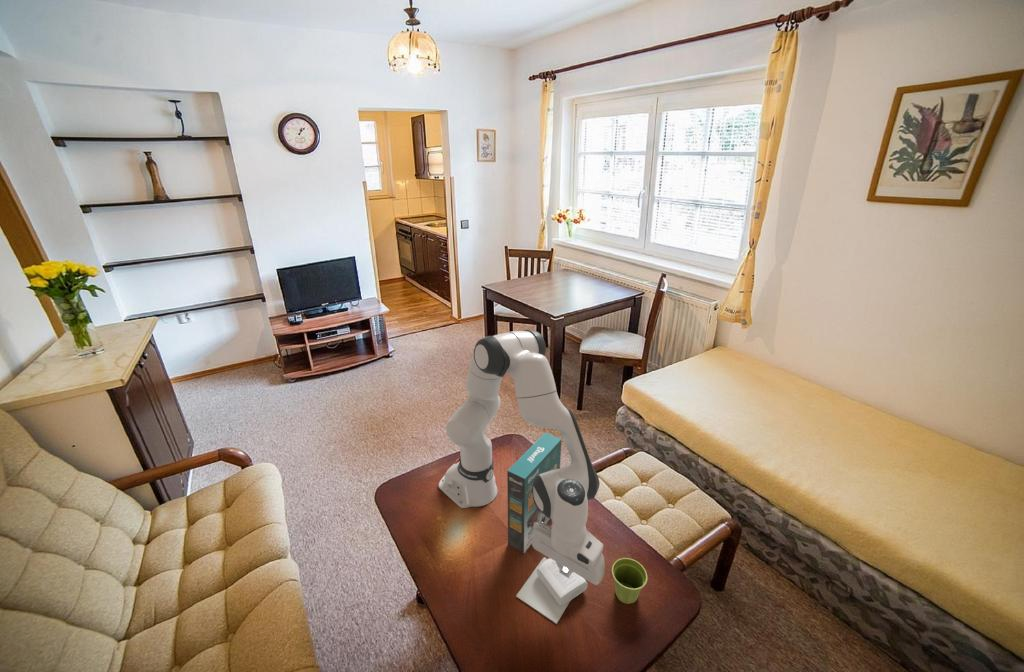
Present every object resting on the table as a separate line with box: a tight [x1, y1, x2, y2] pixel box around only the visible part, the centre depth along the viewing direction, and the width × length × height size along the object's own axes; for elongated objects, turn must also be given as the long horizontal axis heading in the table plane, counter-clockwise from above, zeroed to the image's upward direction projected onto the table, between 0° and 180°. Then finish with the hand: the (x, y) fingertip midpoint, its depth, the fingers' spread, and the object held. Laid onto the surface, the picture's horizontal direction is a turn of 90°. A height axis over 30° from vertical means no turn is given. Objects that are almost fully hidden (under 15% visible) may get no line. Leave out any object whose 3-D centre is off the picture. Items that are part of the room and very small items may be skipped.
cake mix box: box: [506, 432, 562, 555], centre depth 133 cm, size 22×6×30 cm, turn 146°
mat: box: [515, 557, 571, 625], centre depth 119 cm, size 13×15×1 cm
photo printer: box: [537, 557, 589, 606], centre depth 120 cm, size 10×4×12 cm
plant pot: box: [611, 557, 648, 605], centre depth 116 cm, size 9×9×9 cm
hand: (565, 573), depth 113 cm, fingers closed
